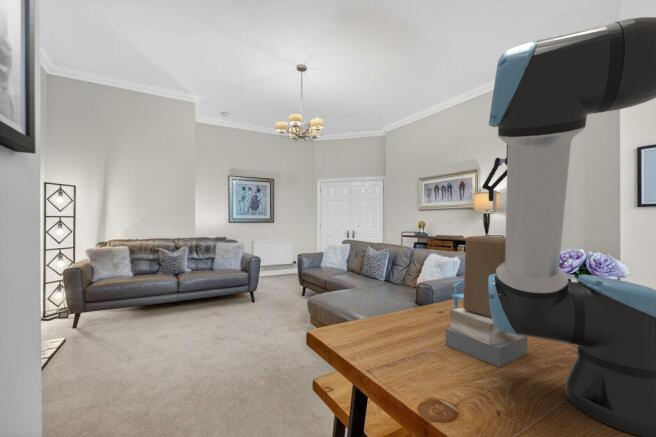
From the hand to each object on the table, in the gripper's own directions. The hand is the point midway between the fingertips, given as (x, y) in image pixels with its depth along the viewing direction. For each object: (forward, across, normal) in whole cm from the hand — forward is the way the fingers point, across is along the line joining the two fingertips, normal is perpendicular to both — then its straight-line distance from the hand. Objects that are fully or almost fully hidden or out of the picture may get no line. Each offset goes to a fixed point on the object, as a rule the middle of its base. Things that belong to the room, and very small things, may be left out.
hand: (520, 212), depth 86 cm
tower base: (+37, +10, +14) cm, 41 cm away
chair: (+37, +14, -14) cm, 42 cm away
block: (+27, +9, +13) cm, 32 cm away
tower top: (+32, +10, +15) cm, 37 cm away
